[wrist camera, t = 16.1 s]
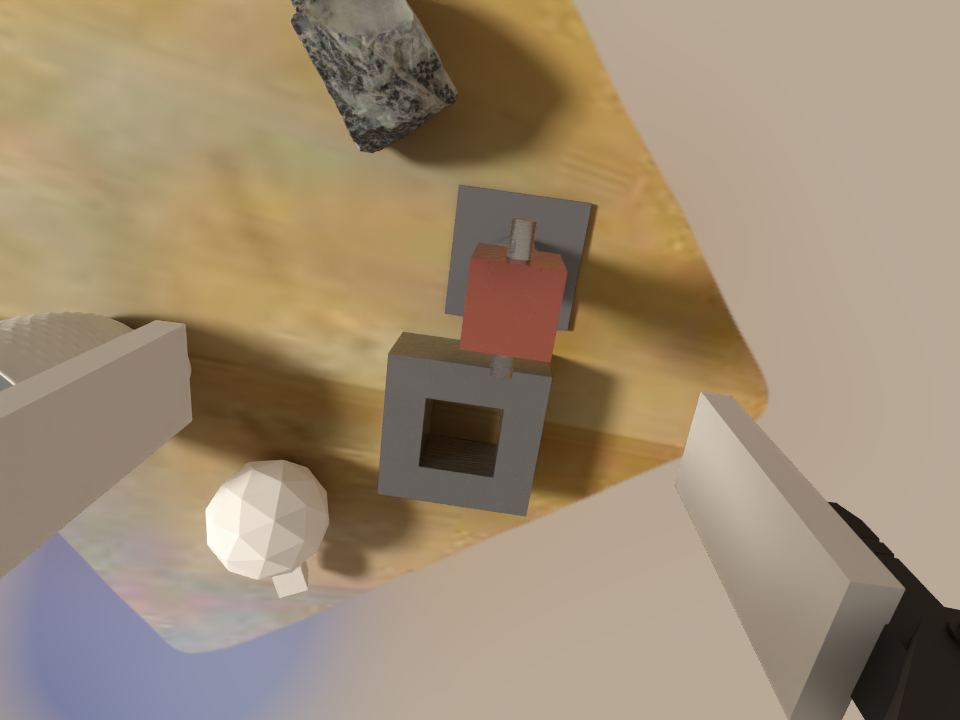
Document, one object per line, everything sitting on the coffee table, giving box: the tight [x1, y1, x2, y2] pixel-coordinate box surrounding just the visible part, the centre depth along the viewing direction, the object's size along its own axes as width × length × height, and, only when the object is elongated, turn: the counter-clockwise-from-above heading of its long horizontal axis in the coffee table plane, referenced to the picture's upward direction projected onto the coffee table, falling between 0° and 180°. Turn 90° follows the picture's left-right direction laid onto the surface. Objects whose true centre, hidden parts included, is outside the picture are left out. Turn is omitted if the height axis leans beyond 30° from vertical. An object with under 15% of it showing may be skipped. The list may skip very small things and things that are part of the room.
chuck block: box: [377, 332, 552, 516], centre depth 41 cm, size 11×11×5 cm
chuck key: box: [459, 218, 567, 380], centre depth 32 cm, size 8×4×14 cm, turn 173°
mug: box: [0, 312, 191, 391], centre depth 38 cm, size 15×11×13 cm
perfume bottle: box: [206, 460, 329, 598], centre depth 44 cm, size 9×9×12 cm
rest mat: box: [445, 185, 592, 331], centre depth 39 cm, size 9×9×1 cm
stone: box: [291, 0, 458, 153], centre depth 33 cm, size 10×10×10 cm
